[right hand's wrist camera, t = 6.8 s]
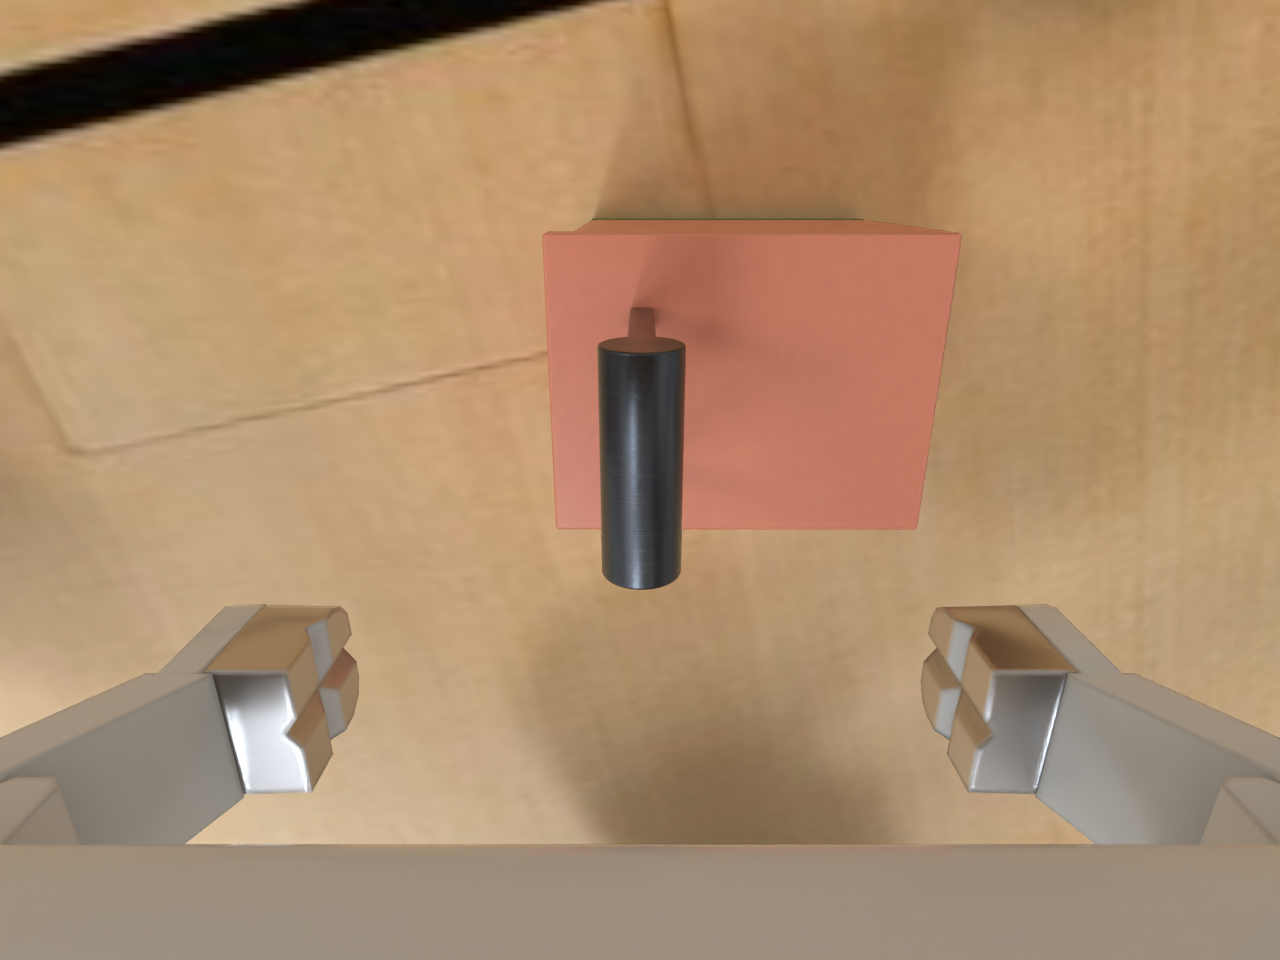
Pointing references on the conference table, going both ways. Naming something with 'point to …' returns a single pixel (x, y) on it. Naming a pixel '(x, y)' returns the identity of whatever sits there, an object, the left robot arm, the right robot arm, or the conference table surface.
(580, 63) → the conference table surface
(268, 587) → the conference table surface
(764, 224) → the chest
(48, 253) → the conference table surface
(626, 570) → the lid
